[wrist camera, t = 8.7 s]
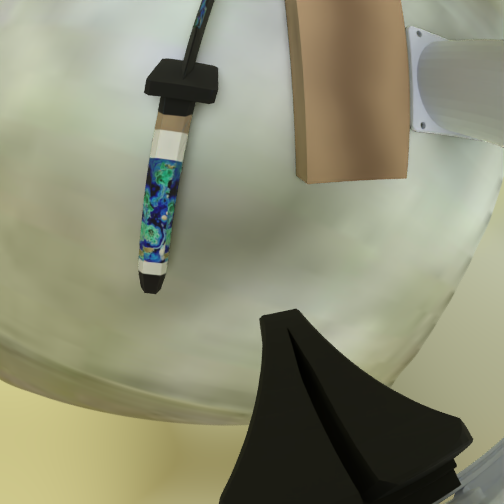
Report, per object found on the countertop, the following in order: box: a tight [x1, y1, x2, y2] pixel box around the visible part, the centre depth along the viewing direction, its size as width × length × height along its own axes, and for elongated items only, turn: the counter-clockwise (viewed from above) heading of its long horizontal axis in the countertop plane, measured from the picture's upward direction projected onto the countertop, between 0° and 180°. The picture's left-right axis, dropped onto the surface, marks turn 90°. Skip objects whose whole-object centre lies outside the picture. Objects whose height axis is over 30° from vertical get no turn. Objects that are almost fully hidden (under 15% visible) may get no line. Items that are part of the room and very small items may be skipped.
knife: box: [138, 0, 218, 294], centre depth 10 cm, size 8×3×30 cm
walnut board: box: [285, 0, 410, 184], centre depth 12 cm, size 7×20×2 cm, turn 4°
